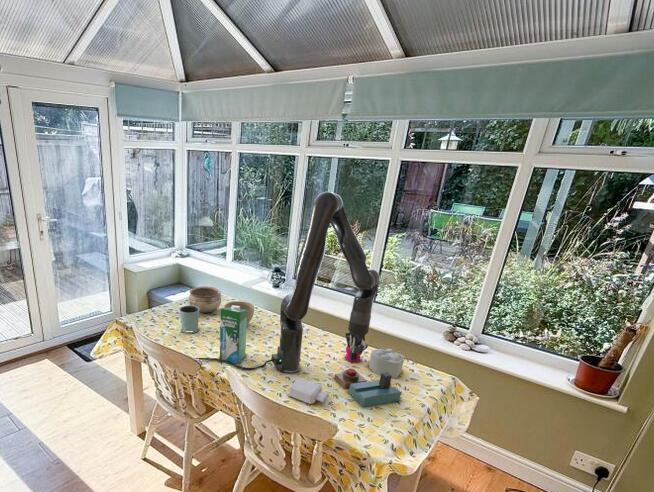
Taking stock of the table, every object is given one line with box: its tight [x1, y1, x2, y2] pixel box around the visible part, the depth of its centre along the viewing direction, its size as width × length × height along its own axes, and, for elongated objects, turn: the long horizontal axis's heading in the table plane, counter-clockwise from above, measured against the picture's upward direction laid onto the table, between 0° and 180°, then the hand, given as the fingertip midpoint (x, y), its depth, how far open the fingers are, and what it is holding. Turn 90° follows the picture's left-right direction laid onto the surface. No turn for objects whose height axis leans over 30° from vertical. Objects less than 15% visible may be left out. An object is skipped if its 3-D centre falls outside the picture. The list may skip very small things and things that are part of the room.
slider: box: [379, 372, 392, 389], centre depth 159 cm, size 3×3×6 cm
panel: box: [334, 369, 368, 389], centre depth 169 cm, size 10×8×4 cm
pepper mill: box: [345, 345, 363, 363], centre depth 184 cm, size 7×7×20 cm
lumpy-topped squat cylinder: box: [368, 348, 405, 379], centre depth 178 cm, size 10×13×9 cm
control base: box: [348, 379, 402, 408], centre depth 159 cm, size 16×10×5 cm, turn 106°
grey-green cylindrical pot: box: [178, 305, 200, 334], centre depth 213 cm, size 10×10×12 cm
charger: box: [288, 377, 333, 405], centre depth 157 cm, size 5×9×15 cm
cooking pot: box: [187, 286, 222, 314], centre depth 237 cm, size 25×19×12 cm
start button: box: [347, 368, 357, 376], centre depth 168 cm, size 3×3×2 cm
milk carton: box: [219, 305, 248, 365], centre depth 183 cm, size 9×9×25 cm
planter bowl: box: [223, 300, 256, 327], centre depth 220 cm, size 16×16×11 cm
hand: (352, 359), depth 165 cm, fingers closed
